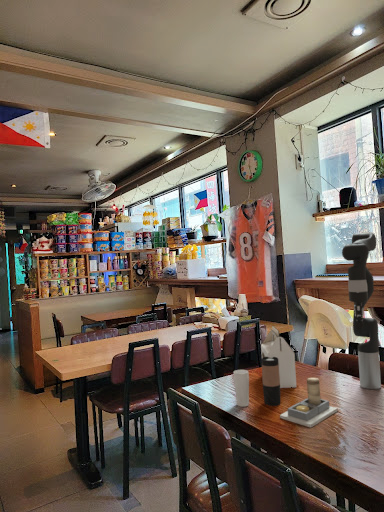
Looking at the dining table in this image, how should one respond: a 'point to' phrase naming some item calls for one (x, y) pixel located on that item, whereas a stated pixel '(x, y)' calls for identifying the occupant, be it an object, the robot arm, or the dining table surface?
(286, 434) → the dining table surface
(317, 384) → the lidded cup
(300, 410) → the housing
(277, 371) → the travel mug
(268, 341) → the gable box
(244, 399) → the white cylinder
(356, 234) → the robot arm
